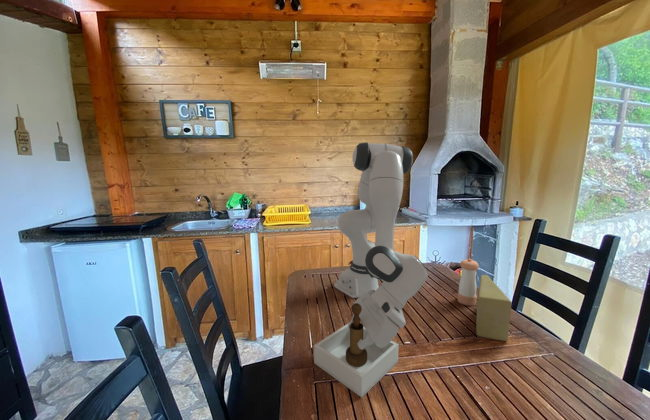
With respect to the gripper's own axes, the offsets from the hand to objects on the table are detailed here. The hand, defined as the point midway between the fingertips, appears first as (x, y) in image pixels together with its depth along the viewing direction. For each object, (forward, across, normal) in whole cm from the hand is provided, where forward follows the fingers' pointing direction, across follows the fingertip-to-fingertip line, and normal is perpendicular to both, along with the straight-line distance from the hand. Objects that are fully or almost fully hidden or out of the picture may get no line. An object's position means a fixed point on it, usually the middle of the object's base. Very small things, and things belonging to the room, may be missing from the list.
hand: (354, 337), depth 83 cm
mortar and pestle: (+5, 0, +6) cm, 8 cm away
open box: (+6, 0, +6) cm, 9 cm away
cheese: (-32, -9, +45) cm, 56 cm away
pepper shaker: (-35, -24, +48) cm, 64 cm away
